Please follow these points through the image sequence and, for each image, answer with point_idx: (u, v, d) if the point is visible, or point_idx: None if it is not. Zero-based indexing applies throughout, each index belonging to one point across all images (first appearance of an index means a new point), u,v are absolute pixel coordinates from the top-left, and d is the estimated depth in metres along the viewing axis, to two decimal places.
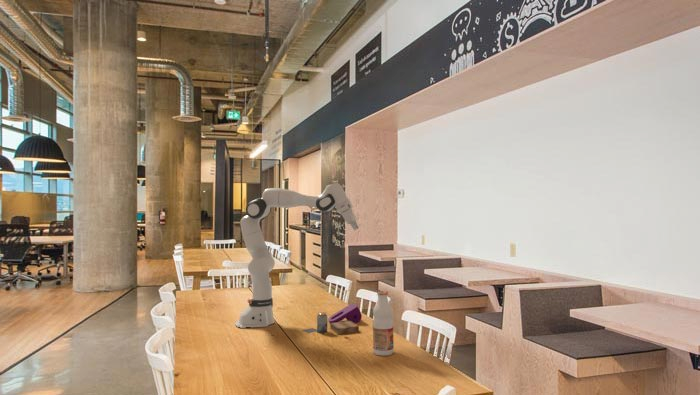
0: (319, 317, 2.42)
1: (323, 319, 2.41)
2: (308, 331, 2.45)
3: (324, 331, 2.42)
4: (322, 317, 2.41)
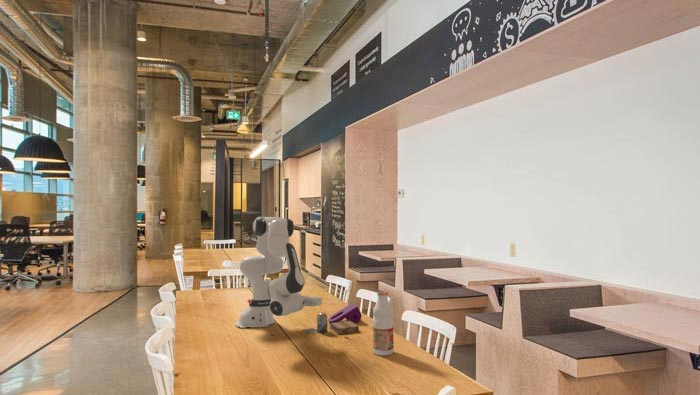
0: (319, 317, 2.42)
1: (323, 319, 2.41)
2: (308, 331, 2.45)
3: (324, 331, 2.42)
4: (322, 317, 2.41)
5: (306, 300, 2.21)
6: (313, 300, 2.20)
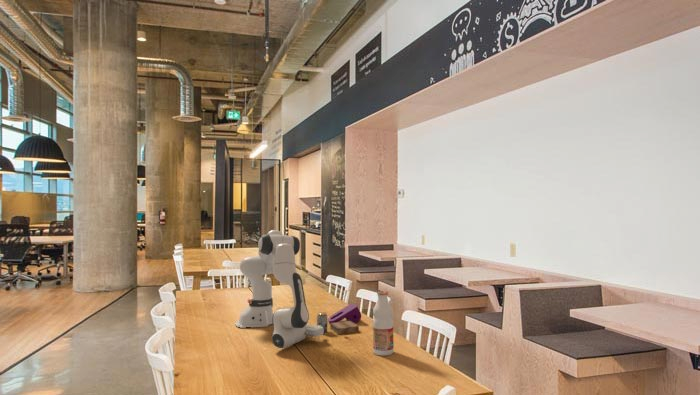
0: (319, 317, 2.42)
1: (323, 319, 2.41)
2: None
3: (324, 331, 2.42)
4: (322, 317, 2.41)
5: (308, 330, 2.24)
6: (315, 331, 2.22)
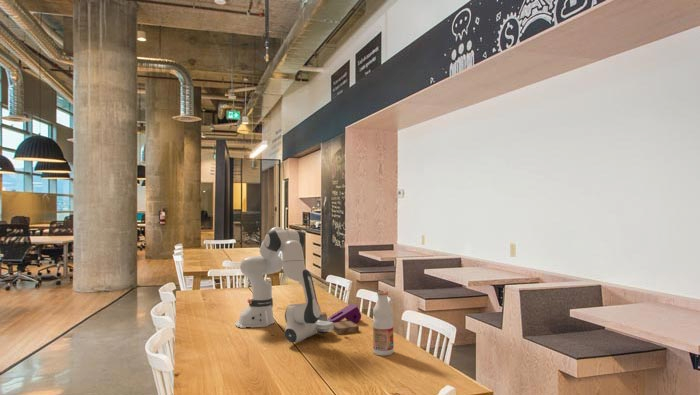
0: None
1: (323, 319, 2.41)
2: None
3: None
4: (322, 317, 2.41)
5: (319, 325, 2.32)
6: (325, 326, 2.31)
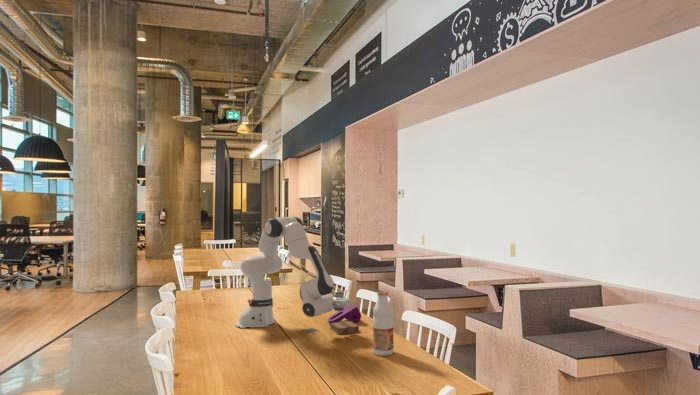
0: (336, 295, 2.43)
1: (339, 297, 2.43)
2: (308, 331, 2.45)
3: (340, 308, 2.43)
4: (338, 295, 2.43)
5: (336, 301, 2.33)
6: (342, 302, 2.32)
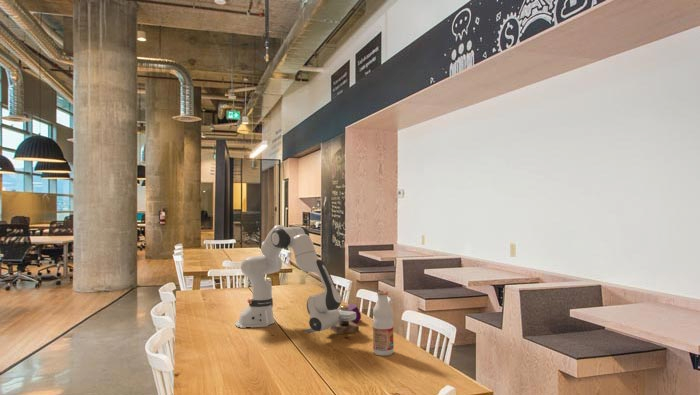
0: None
1: None
2: (308, 331, 2.45)
3: (346, 324, 2.44)
4: (344, 310, 2.44)
5: (342, 315, 2.34)
6: (349, 315, 2.33)
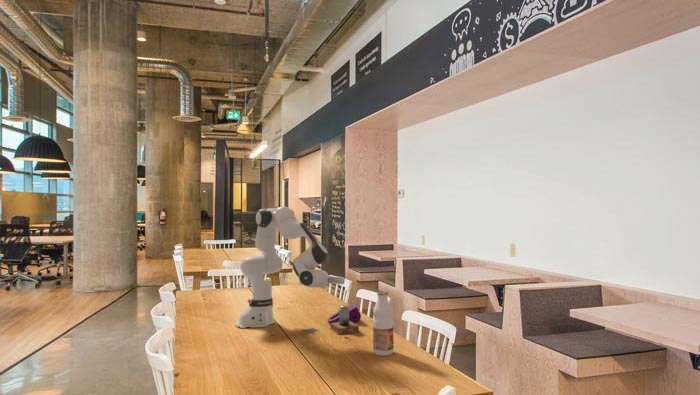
0: (341, 310, 2.44)
1: (345, 312, 2.44)
2: (308, 331, 2.45)
3: (346, 324, 2.44)
4: (344, 310, 2.44)
5: (331, 277, 2.28)
6: (338, 278, 2.27)
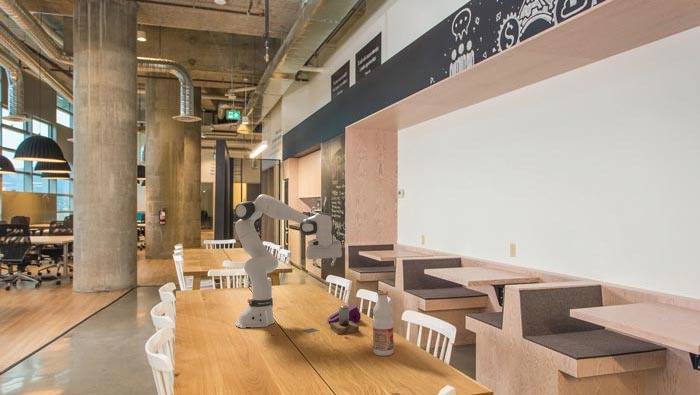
0: (341, 310, 2.44)
1: (345, 312, 2.44)
2: (308, 331, 2.45)
3: (346, 324, 2.44)
4: (344, 310, 2.44)
5: None
6: None
